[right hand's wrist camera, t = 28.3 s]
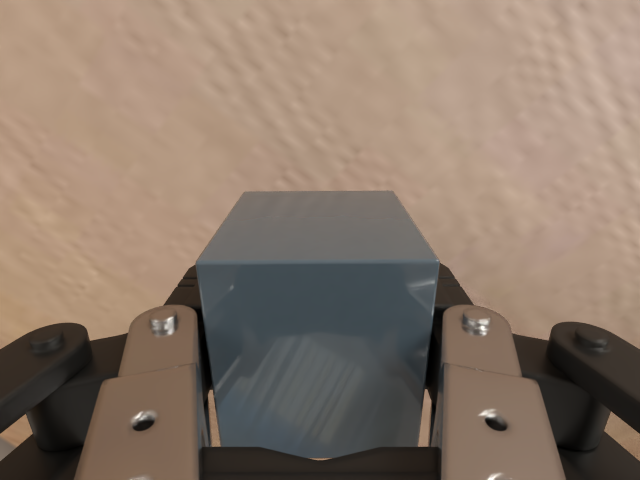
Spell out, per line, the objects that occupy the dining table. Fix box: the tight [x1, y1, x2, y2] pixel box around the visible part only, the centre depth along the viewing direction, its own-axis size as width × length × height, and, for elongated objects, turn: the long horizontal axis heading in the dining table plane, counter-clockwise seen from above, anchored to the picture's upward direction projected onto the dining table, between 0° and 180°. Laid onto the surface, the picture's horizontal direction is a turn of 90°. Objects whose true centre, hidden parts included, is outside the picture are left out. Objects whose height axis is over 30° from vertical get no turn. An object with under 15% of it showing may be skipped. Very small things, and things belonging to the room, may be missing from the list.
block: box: [195, 191, 440, 458], centre depth 10 cm, size 5×4×5 cm
